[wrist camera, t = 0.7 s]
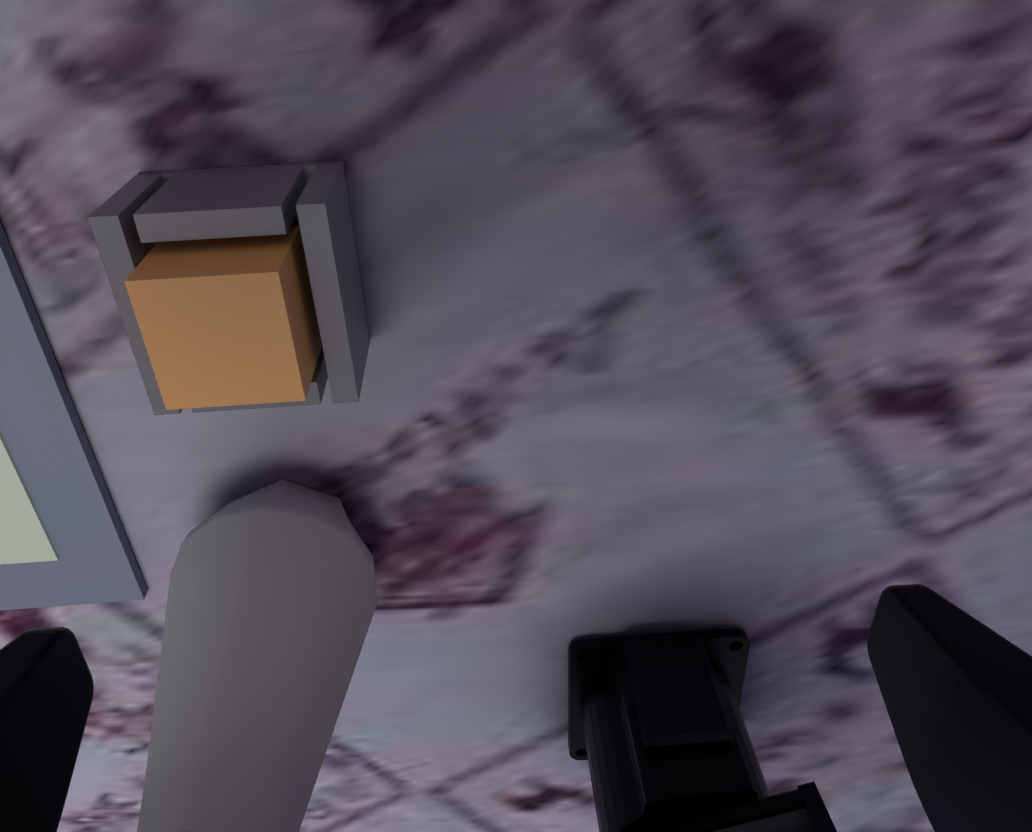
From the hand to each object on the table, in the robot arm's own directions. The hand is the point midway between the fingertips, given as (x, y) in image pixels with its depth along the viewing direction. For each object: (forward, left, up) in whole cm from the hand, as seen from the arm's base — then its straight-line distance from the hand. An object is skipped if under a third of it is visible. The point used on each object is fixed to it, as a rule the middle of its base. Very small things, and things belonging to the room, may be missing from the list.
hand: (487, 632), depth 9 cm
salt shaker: (-10, +6, -14) cm, 18 cm away
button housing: (-1, +5, -13) cm, 14 cm away
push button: (-1, +5, -12) cm, 13 cm away
